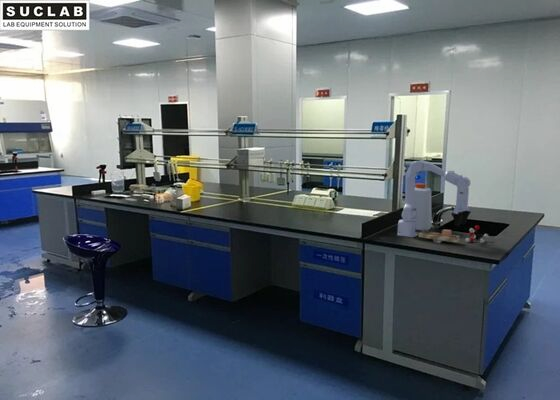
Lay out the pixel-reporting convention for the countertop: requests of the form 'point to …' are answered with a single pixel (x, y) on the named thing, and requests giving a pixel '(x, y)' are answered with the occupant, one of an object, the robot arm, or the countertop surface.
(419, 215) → the plastic bottle
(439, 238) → the wooden tray
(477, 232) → the molecular model
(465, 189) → the robot arm
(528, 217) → the countertop surface
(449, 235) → the pink cube
